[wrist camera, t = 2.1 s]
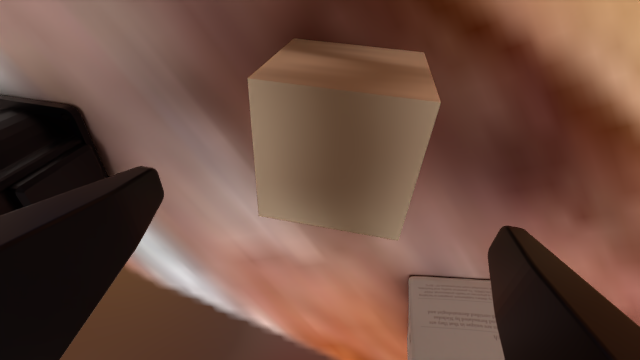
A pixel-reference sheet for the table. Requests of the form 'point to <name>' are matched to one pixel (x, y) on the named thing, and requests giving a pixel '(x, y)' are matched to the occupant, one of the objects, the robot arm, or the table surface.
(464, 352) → the supplement box
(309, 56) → the beech block
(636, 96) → the table surface
